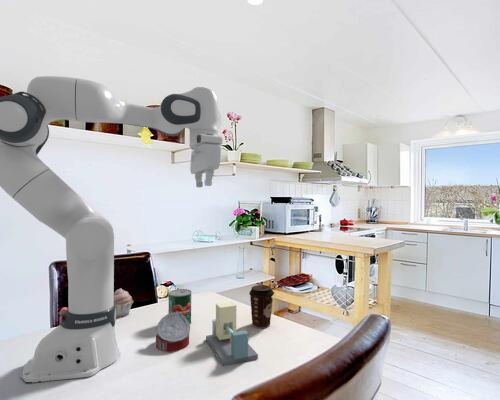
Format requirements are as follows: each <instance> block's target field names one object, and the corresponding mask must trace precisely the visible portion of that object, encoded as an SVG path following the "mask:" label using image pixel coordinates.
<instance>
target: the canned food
mask: <svg viewBox="0 0 500 400" xmlns="http://www.w3.org/2000/svg"><path fill="white" fill-rule="evenodd" d="M190 331H191V324H190V325H189V322H188V320H187V319H186V317H185V316H184V315H183V314H181V313H177V312H172V313H169V312H168V313H167V314H166V315H164V316H162V317H161V318H160V320H159V322H158V323H157V327H156V335H155V347H156V349H157V350H158V351H161V352H167V353H168V352H169V353H170V352H171V353H173V352H177V351H178V352H179V351H180V350H184V349H185V348H187V347H188V346H189V345H190V333H191V332H190Z"/></svg>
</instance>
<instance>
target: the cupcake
mask: <svg viewBox="0 0 500 400" xmlns="http://www.w3.org/2000/svg"><path fill="white" fill-rule="evenodd" d="M133 303H134V300H133V297H132V296H131V295H130V294H129V292H128V291H126V290H124V289H122V287H121V288H119V289H116V290H115V291H114V304H115V308H116V318H123V317H126V316H129V314H130V312H131V307H132V305H133ZM122 316H123V317H122Z"/></svg>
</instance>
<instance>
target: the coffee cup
mask: <svg viewBox="0 0 500 400" xmlns="http://www.w3.org/2000/svg"><path fill="white" fill-rule="evenodd" d="M249 295H250V296H249V297H250V309H251V326H253V327H254V328H258V329H264V328H267V327H270V326H271V318H272V309H273V301H274V300H273V296H274V295H275V292H274V291H273V289H272V286H270V285H265V284H257V285H254V286H251V290H249Z"/></svg>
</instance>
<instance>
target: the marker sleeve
mask: <svg viewBox="0 0 500 400" xmlns="http://www.w3.org/2000/svg"><path fill="white" fill-rule="evenodd" d="M215 319H216V336H217V337H218V338H219V340H223V339H229V338H230V337H231V335H230V334H229V333H228V331H227V330H226V329H224V330H223V323H228V326H229V327H230V328H231V330H232V331H233V332H236V331H237V305H236V304H235V303H234V302H233V301H225V302H219V303H215Z"/></svg>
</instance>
